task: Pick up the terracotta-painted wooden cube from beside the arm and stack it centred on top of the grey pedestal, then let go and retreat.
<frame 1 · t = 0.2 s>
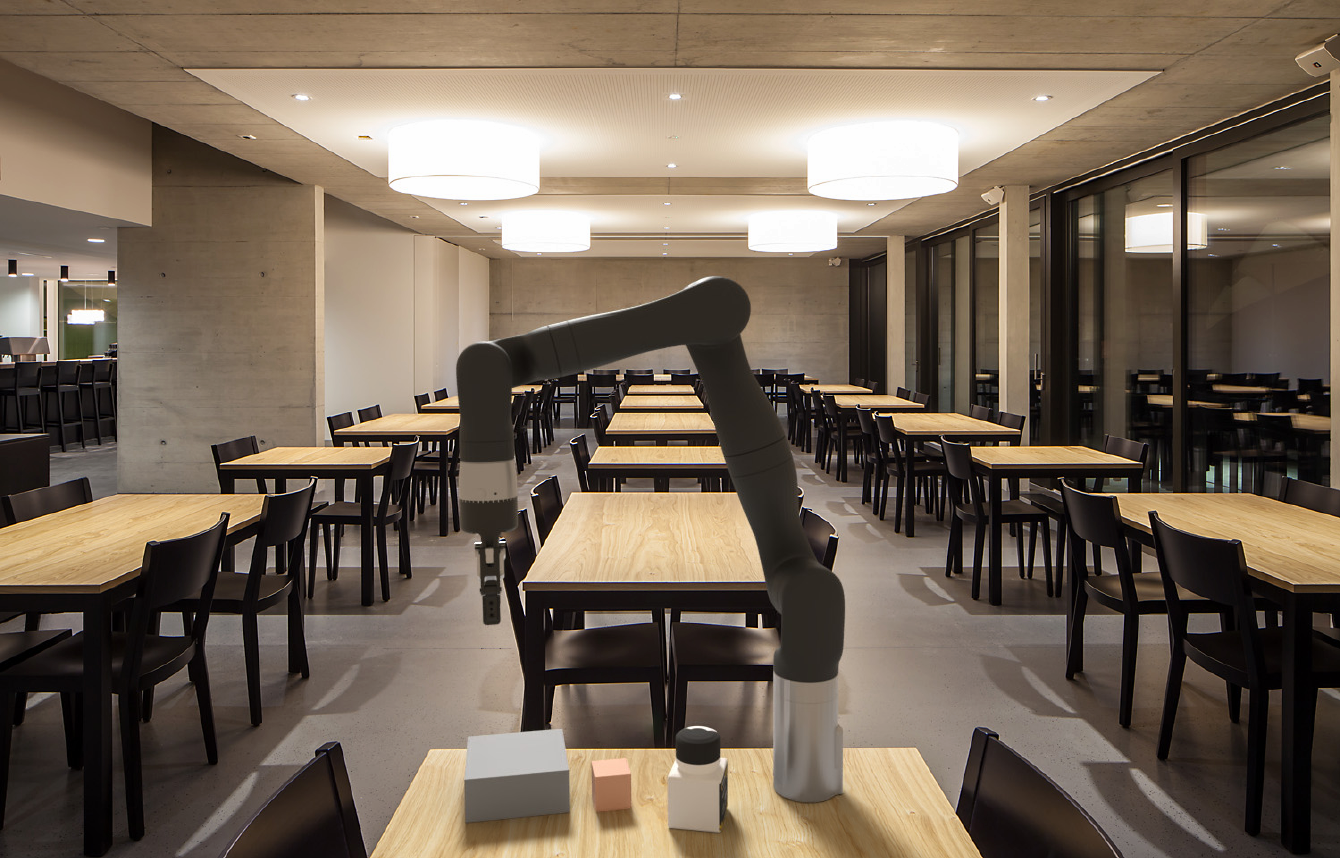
hand: (492, 615, 116), 28 cm above the table, fingers open, 8 cm apart
terracotta cube: (611, 801, 123), on the table
slate pedestal: (517, 793, 126), on the table
medicine bottle: (698, 819, 118), on the table
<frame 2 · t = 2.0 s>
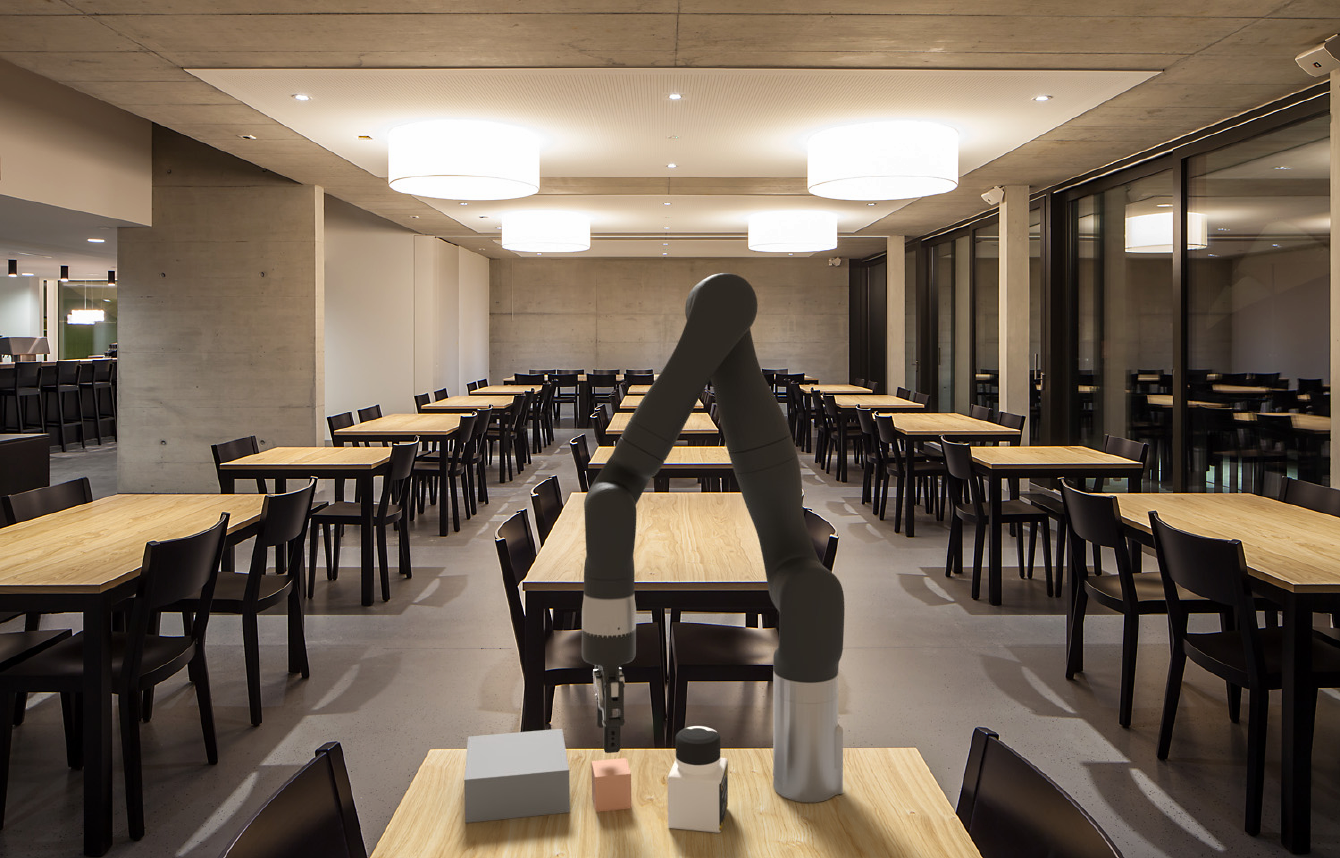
hand: (608, 738, 123), 9 cm above the table, fingers open, 8 cm apart
nothing on the table moved.
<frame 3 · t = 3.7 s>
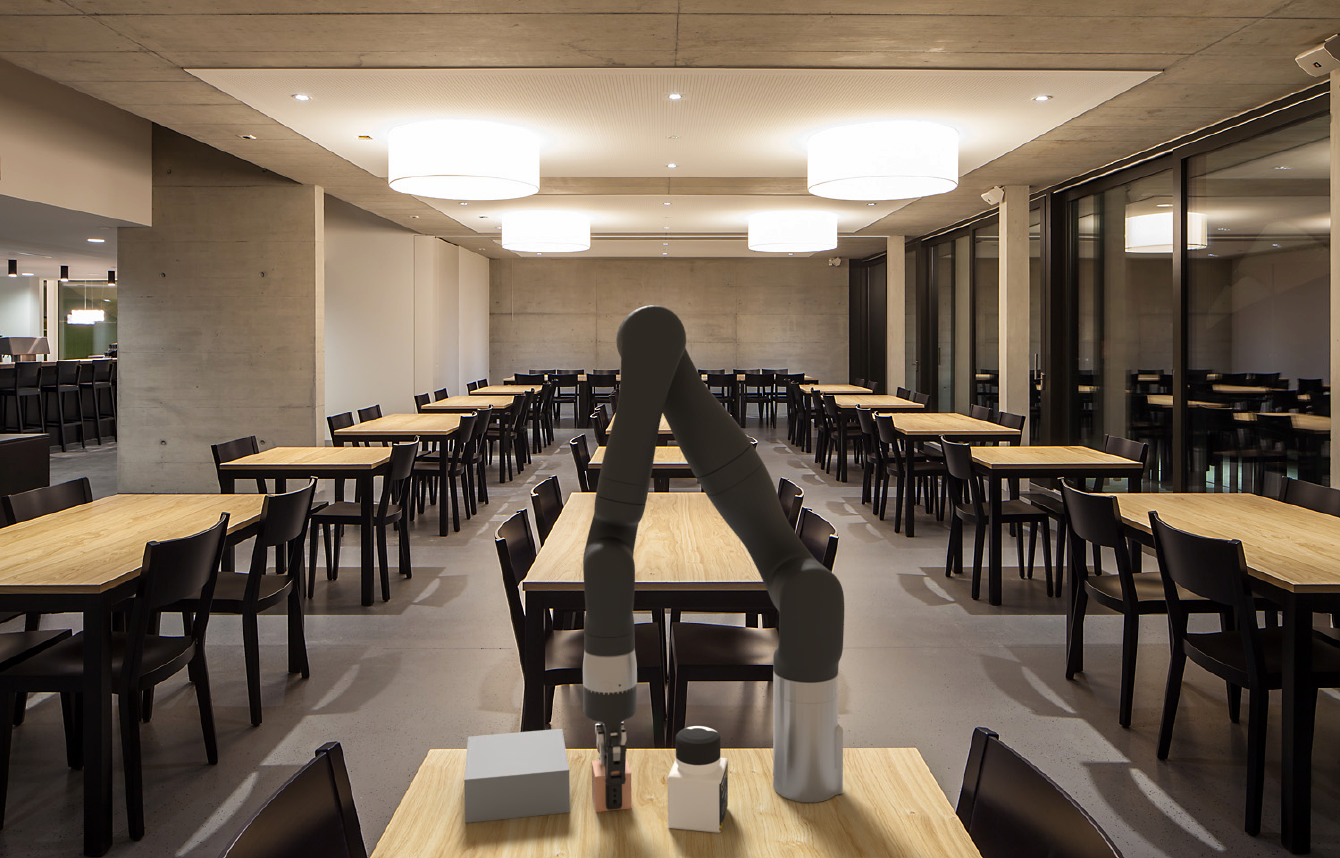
hand: (611, 797, 123), 0 cm above the table, fingers closed on terracotta cube, 5 cm apart
terracotta cube: (611, 801, 123), on the table, touching gripper
everything else where it was.
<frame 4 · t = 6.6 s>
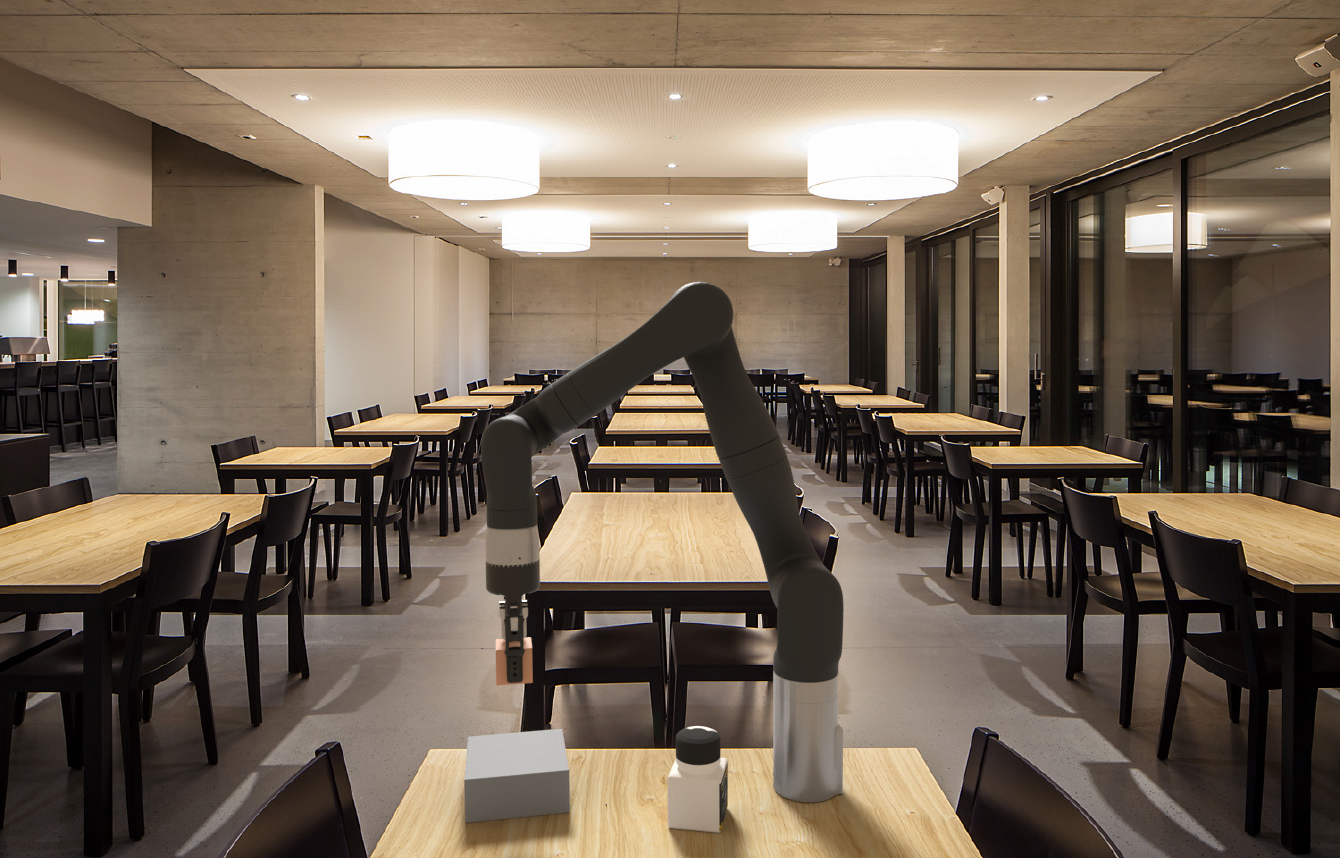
hand: (514, 674, 124), 17 cm above the table, fingers closed on terracotta cube, 5 cm apart
terracotta cube: (514, 678, 124), point 17 cm above the table, touching gripper
everything else where it was.
when the fingers open (7 cm above the table, at t = 9.3 s): terracotta cube stays where it is, resting on slate pedestal.
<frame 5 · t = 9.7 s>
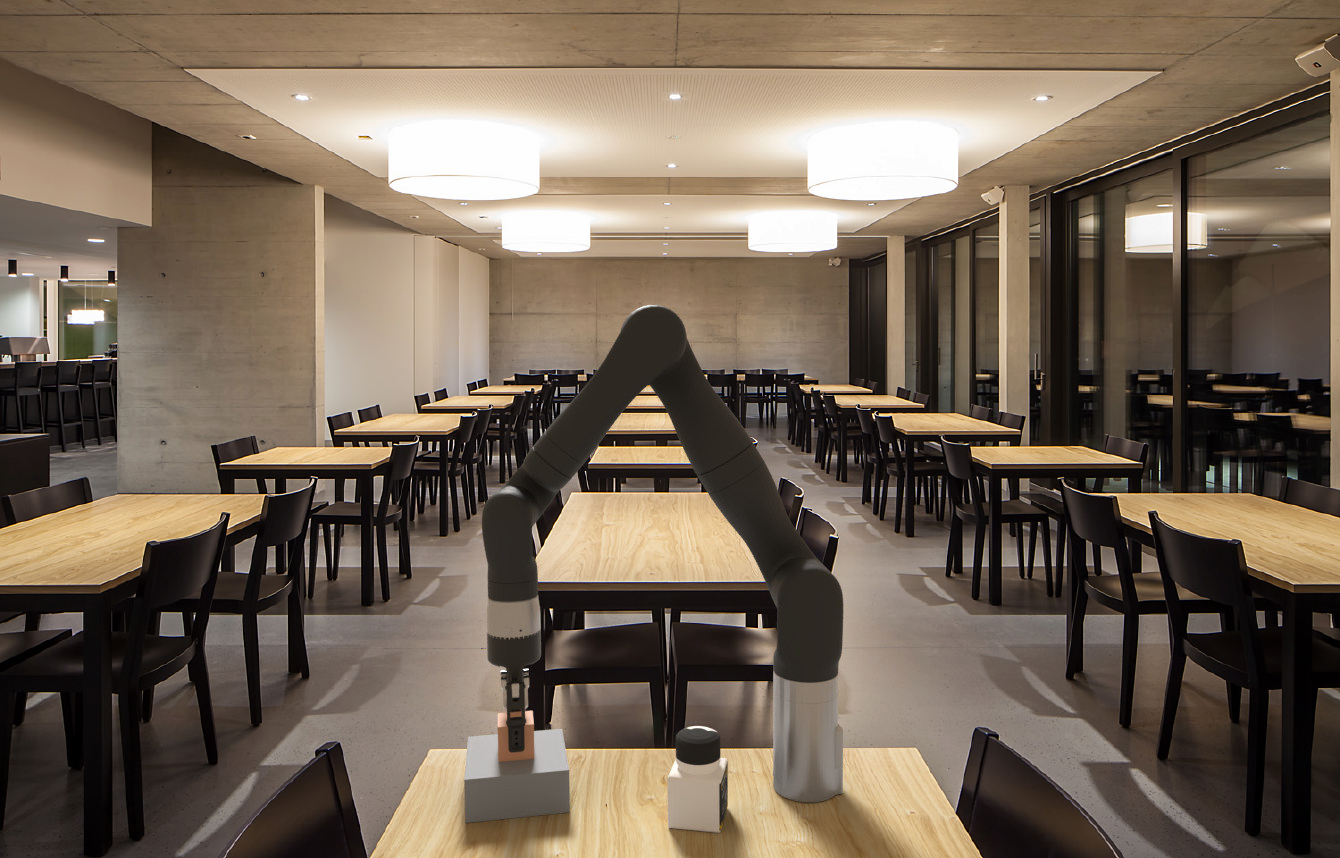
hand: (516, 738, 125), 8 cm above the table, fingers open, 8 cm apart
terracotta cube: (516, 752, 125), point 6 cm above the table, touching slate pedestal
everything else where it was.
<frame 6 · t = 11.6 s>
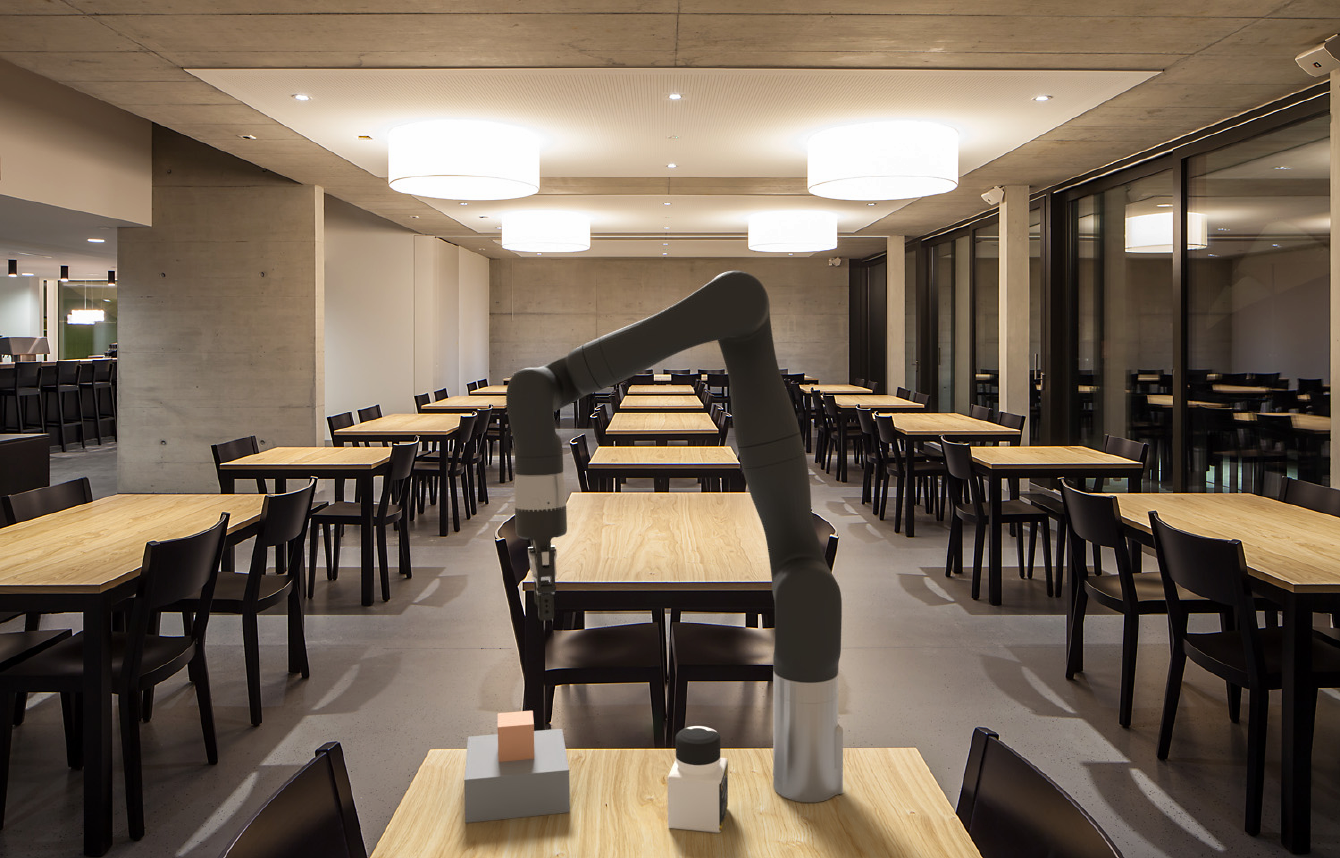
hand: (544, 611, 130), 25 cm above the table, fingers open, 8 cm apart
nothing on the table moved.
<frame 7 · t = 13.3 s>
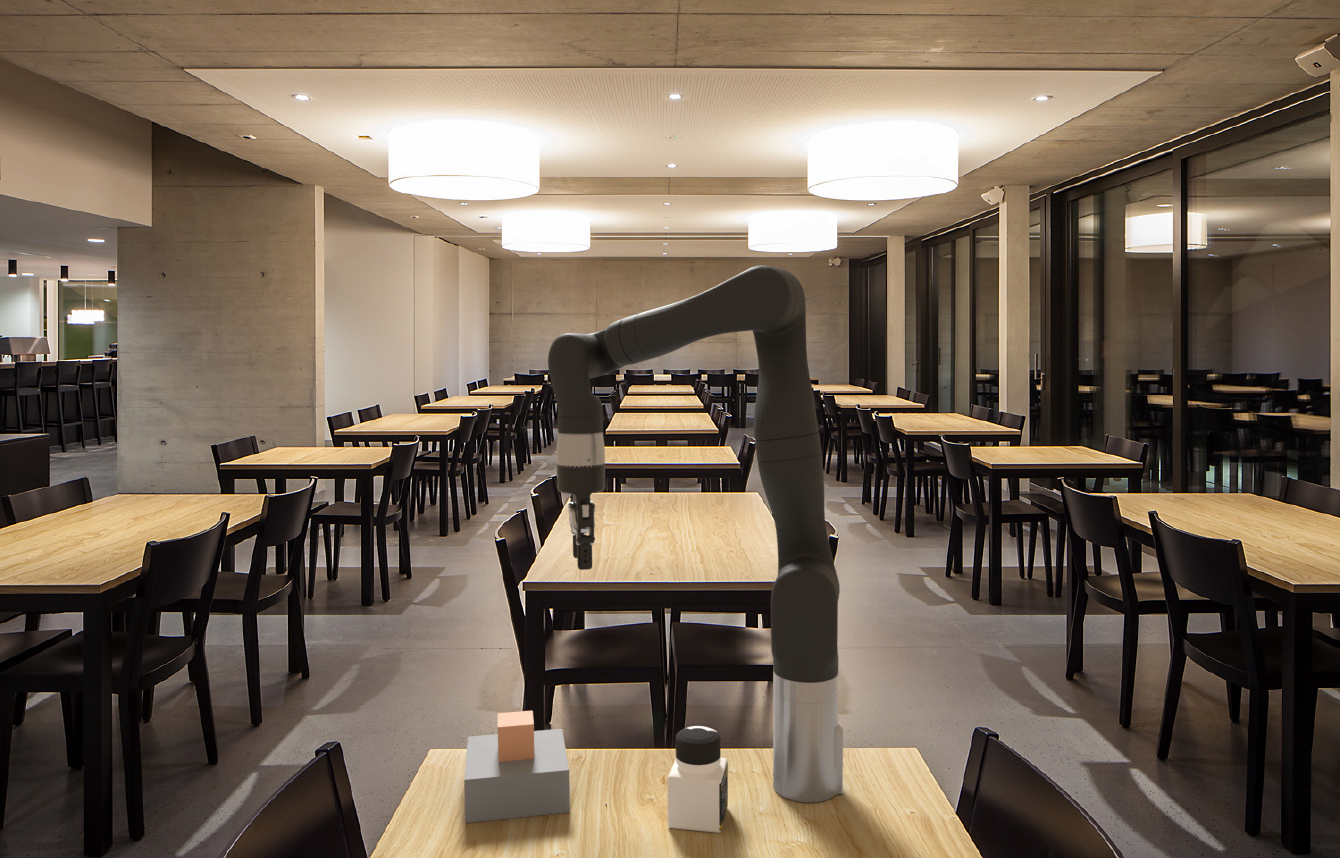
hand: (582, 563, 138), 30 cm above the table, fingers open, 8 cm apart
nothing on the table moved.
at the end: terracotta cube inside the target area on the slate pedestal (0.0 cm from its centre), point 6.0 cm above the slate pedestal's base; terracotta cube tilted 0°; the gripper is holding nothing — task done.
